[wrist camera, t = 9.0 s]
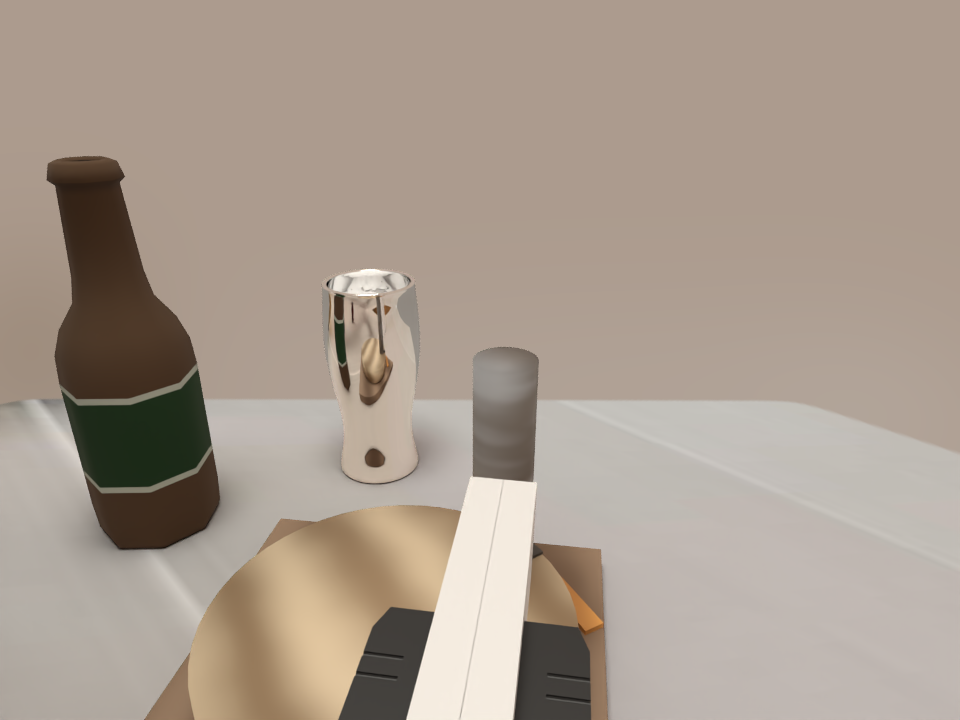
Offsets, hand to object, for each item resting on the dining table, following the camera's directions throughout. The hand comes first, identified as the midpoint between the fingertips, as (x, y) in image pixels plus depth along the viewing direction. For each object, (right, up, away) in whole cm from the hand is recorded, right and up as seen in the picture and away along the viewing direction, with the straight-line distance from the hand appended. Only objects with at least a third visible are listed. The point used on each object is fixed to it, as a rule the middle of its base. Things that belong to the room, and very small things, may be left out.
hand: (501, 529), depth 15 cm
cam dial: (-5, -11, +18) cm, 22 cm away
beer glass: (-8, -4, +37) cm, 38 cm away
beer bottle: (-23, -7, +31) cm, 39 cm away
